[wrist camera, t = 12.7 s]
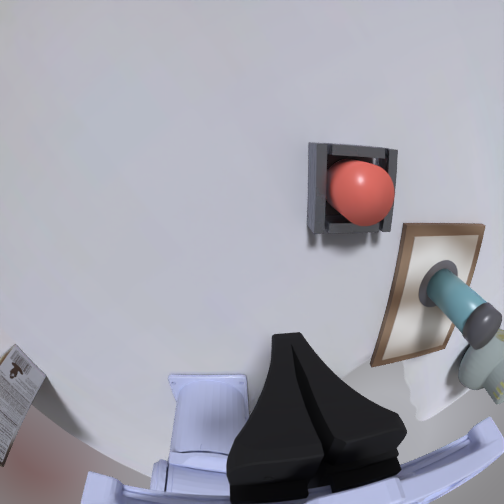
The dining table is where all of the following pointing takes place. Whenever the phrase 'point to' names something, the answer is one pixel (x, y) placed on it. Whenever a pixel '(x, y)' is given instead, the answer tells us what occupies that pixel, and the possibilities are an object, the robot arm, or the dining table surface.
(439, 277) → the marker
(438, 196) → the dining table surface
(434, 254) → the picture frame
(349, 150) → the button collar
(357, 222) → the button
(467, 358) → the air freshener
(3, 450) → the coffee box
